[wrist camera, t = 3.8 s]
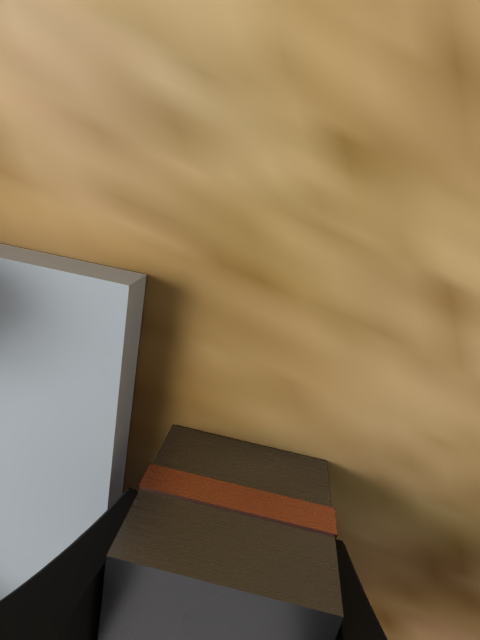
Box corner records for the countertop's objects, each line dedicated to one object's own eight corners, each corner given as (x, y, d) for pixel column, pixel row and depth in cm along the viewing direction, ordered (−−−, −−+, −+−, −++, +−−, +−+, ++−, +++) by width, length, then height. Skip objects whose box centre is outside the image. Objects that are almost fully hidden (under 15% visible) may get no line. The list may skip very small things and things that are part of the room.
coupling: (292, 577, 13) (291, 762, 9) (153, 542, 14) (88, 705, 9) (329, 459, 12) (347, 616, 8) (171, 422, 12) (103, 553, 8)
